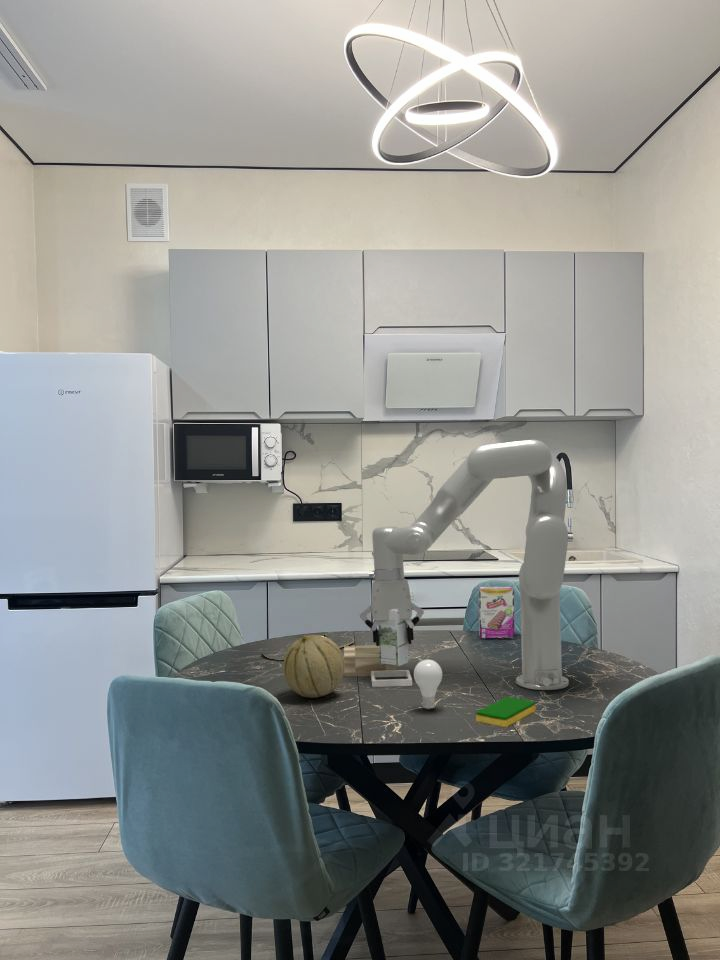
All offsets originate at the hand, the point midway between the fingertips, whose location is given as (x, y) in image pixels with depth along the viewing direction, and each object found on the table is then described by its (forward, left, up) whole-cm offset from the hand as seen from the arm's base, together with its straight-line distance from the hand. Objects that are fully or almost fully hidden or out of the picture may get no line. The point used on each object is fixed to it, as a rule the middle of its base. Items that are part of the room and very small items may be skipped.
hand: (393, 643), depth 190 cm
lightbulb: (-25, -6, -10) cm, 27 cm away
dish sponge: (-31, -22, -10) cm, 39 cm away
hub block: (+13, +6, -9) cm, 17 cm away
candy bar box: (+49, -36, -10) cm, 62 cm away
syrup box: (0, 0, -5) cm, 5 cm away
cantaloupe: (-12, +20, -10) cm, 25 cm away
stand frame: (0, +1, -9) cm, 10 cm away
